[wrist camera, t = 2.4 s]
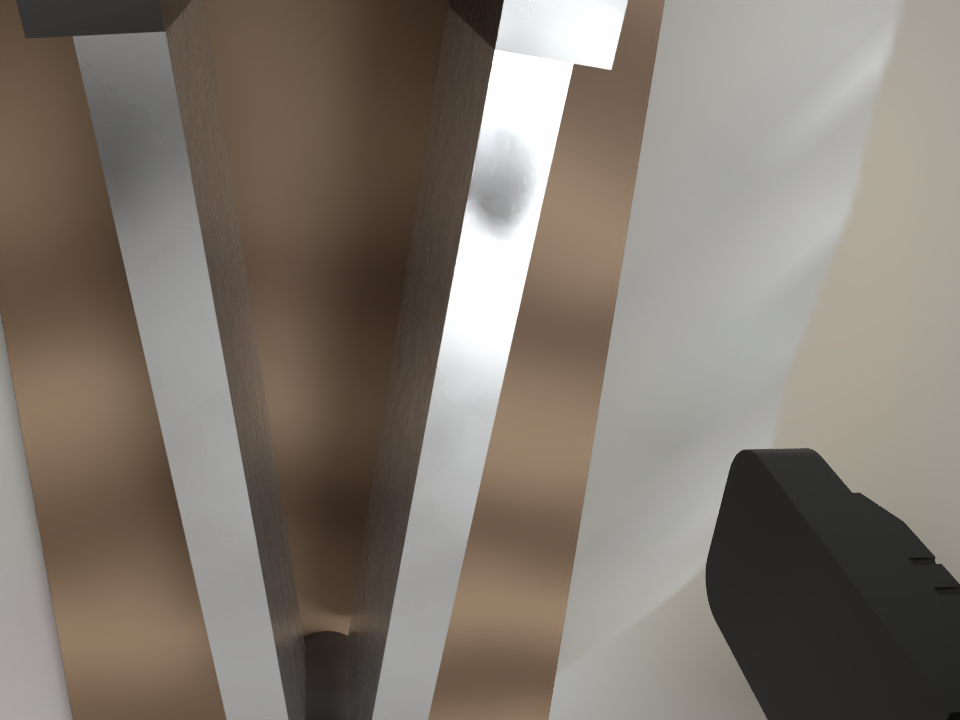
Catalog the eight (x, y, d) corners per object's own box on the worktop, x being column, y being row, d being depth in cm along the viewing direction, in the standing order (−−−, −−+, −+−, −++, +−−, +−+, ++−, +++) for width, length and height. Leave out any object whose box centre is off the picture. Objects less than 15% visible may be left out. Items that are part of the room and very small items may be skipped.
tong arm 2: (305, 646, 25) (304, 813, 20) (236, 656, 24) (221, 827, 20) (171, -203, 15) (117, -231, 11) (58, -202, 15) (-42, -230, 11)
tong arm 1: (412, 645, 25) (434, 806, 21) (346, 644, 25) (355, 808, 20) (572, -151, 17) (666, -157, 12) (476, -172, 16) (538, -187, 12)
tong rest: (535, 697, 31) (598, 920, 24) (93, 731, 28) (28, 992, 22) (710, -465, 17) (965, -675, 10) (-128, -606, 14) (-493, -1007, 8)
